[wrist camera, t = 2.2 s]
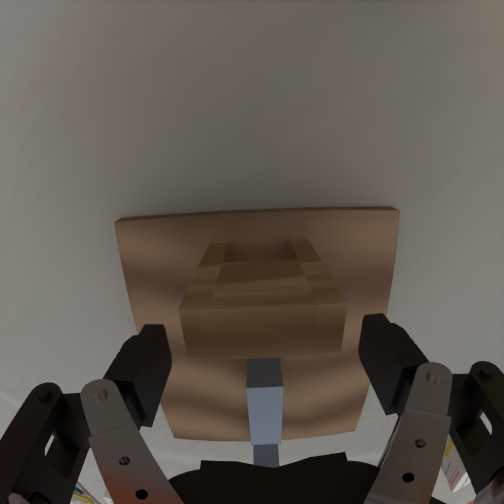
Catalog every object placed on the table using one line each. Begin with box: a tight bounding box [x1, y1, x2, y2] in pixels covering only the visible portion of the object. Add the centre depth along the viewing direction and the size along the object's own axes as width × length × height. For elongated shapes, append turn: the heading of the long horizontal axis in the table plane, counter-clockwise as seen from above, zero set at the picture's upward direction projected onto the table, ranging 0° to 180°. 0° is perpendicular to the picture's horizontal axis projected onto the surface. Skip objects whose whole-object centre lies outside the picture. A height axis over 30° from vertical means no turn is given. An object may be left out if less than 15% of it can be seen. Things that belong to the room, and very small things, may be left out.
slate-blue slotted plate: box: [246, 357, 283, 468], centre depth 20 cm, size 16×2×7 cm, turn 2°
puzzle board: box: [71, 482, 100, 504], centre depth 40 cm, size 30×23×3 cm
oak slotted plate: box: [178, 238, 347, 359], centre depth 15 cm, size 2×6×9 cm, turn 93°
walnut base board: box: [115, 208, 399, 441], centre depth 23 cm, size 24×20×1 cm
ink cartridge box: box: [441, 434, 471, 493], centre depth 21 cm, size 9×5×15 cm, turn 21°
